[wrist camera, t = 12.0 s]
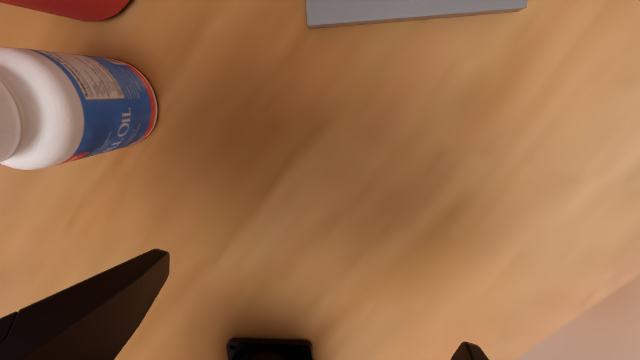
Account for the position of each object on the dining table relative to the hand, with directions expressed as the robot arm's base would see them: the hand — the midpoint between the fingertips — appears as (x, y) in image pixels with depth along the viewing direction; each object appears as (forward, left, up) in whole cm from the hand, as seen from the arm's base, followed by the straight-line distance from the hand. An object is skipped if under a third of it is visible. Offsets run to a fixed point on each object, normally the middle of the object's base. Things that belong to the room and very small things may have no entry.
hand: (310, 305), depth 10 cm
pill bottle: (-14, +6, -12) cm, 19 cm away
